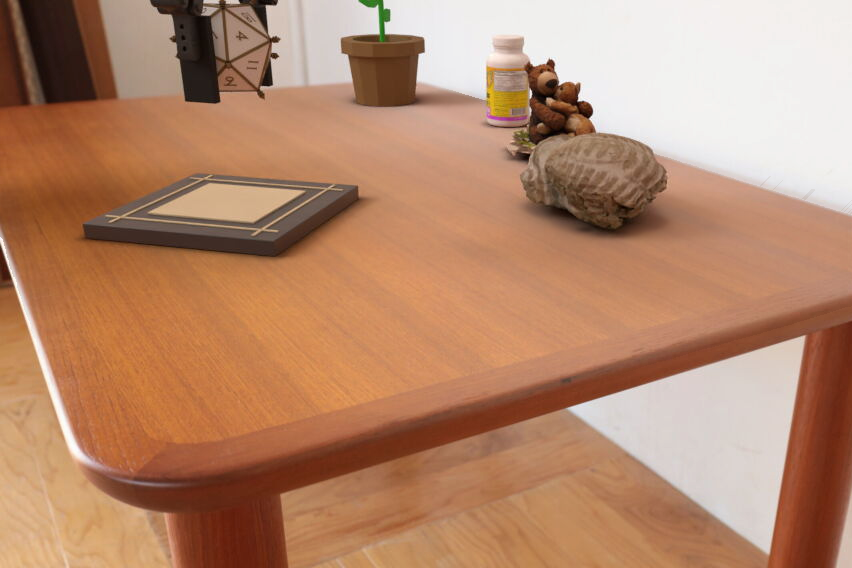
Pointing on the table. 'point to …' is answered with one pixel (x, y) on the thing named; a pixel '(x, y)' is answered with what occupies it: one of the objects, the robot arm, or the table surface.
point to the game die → (239, 46)
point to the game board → (225, 214)
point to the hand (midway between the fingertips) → (231, 92)
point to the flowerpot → (383, 63)
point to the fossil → (594, 177)
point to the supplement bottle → (507, 83)
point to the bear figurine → (551, 110)
